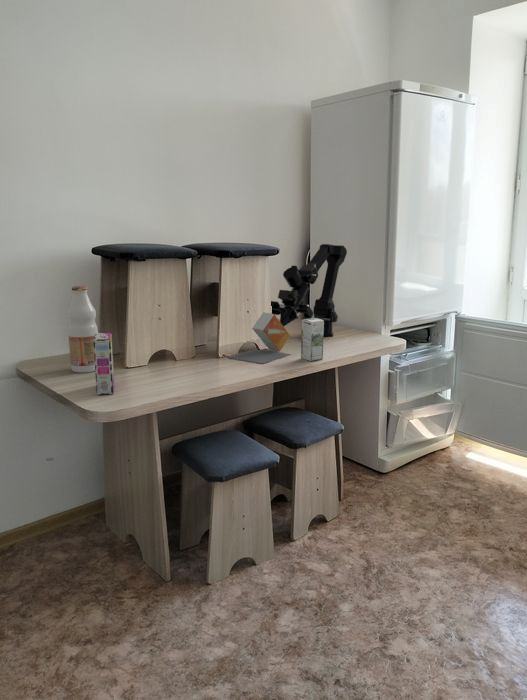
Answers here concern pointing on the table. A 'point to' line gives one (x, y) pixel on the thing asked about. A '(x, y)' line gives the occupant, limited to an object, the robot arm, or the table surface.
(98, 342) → the candy bar box
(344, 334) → the table surface
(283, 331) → the small box
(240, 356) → the felt mat
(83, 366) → the fruit juice
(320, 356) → the syrup box
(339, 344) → the table surface
